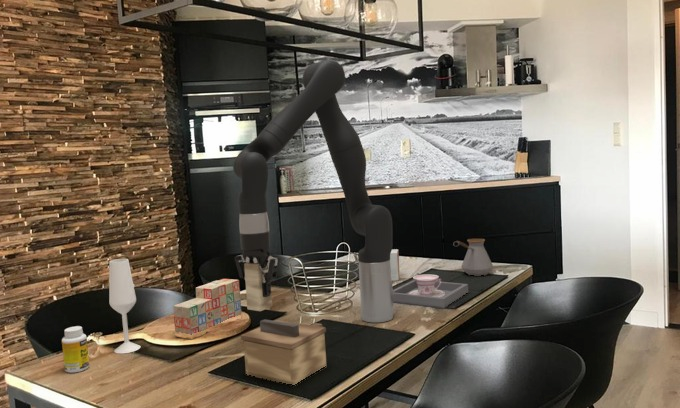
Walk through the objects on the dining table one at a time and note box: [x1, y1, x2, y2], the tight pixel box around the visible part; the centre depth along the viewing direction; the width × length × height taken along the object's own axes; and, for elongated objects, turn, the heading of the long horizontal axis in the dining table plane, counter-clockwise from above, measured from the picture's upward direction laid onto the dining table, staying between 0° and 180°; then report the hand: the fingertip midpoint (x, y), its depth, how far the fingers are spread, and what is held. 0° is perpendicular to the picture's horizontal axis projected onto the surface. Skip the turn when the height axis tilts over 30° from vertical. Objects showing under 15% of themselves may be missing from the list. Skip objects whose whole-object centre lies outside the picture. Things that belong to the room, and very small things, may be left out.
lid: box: [240, 319, 327, 349], centre depth 133 cm, size 14×15×3 cm
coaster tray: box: [393, 279, 469, 309], centre depth 188 cm, size 19×19×3 cm
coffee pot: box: [452, 238, 494, 277], centre depth 213 cm, size 21×12×15 cm, turn 140°
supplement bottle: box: [61, 325, 90, 374], centre depth 141 cm, size 6×6×10 cm
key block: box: [244, 262, 273, 312], centre depth 150 cm, size 4×4×12 cm
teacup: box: [409, 274, 445, 297], centre depth 188 cm, size 12×12×6 cm
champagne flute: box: [108, 258, 141, 354], centre depth 154 cm, size 7×7×24 cm
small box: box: [390, 248, 401, 282], centre depth 217 cm, size 8×6×10 cm
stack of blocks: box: [173, 278, 243, 335], centre depth 169 cm, size 21×6×12 cm, turn 149°
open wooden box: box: [242, 333, 327, 386], centre depth 133 cm, size 12×14×8 cm
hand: (259, 295), depth 150 cm, fingers closed on key block, 4 cm apart
